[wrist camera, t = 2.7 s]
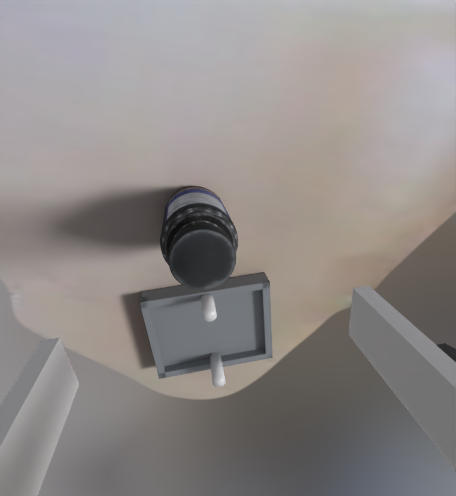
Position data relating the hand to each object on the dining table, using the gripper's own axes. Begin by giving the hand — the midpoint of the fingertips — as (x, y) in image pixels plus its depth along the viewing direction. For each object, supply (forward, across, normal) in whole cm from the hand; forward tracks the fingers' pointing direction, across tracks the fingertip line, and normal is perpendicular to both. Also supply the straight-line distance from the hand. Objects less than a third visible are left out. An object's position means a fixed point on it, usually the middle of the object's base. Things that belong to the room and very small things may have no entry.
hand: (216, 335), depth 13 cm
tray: (+19, 0, -13) cm, 23 cm away
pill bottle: (+19, 0, 0) cm, 19 cm away
